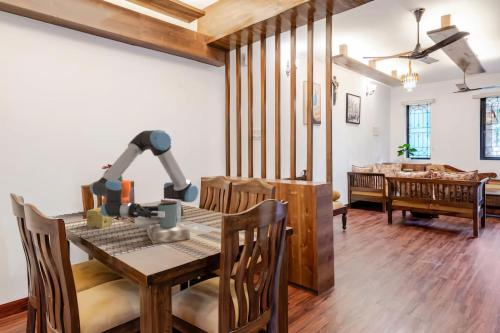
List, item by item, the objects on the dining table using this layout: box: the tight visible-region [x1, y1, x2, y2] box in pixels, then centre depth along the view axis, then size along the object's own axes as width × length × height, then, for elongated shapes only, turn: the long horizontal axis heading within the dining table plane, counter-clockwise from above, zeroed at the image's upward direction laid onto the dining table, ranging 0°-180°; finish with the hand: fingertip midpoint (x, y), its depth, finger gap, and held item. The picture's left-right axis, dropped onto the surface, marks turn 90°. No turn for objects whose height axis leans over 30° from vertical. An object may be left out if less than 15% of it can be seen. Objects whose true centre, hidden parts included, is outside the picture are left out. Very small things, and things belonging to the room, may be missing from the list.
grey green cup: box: [156, 202, 177, 228], centre depth 163 cm, size 10×10×12 cm
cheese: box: [86, 207, 114, 229], centre depth 183 cm, size 10×11×10 cm
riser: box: [146, 222, 191, 244], centre depth 162 cm, size 18×18×5 cm
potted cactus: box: [98, 163, 132, 208], centre depth 227 cm, size 22×22×35 cm
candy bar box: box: [160, 198, 182, 224], centre depth 181 cm, size 11×5×16 cm, turn 71°
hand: (169, 211), depth 161 cm, fingers open, 13 cm apart
